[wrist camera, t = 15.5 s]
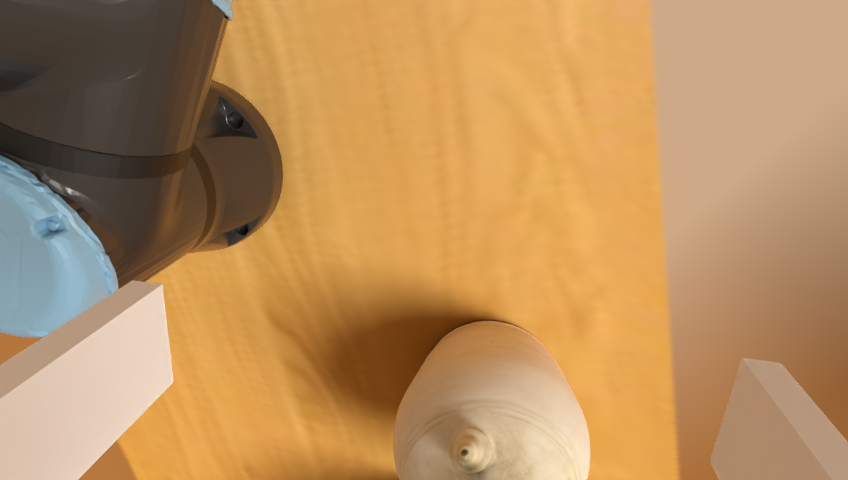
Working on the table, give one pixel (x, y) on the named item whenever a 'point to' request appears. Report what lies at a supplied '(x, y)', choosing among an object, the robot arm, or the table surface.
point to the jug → (490, 411)
